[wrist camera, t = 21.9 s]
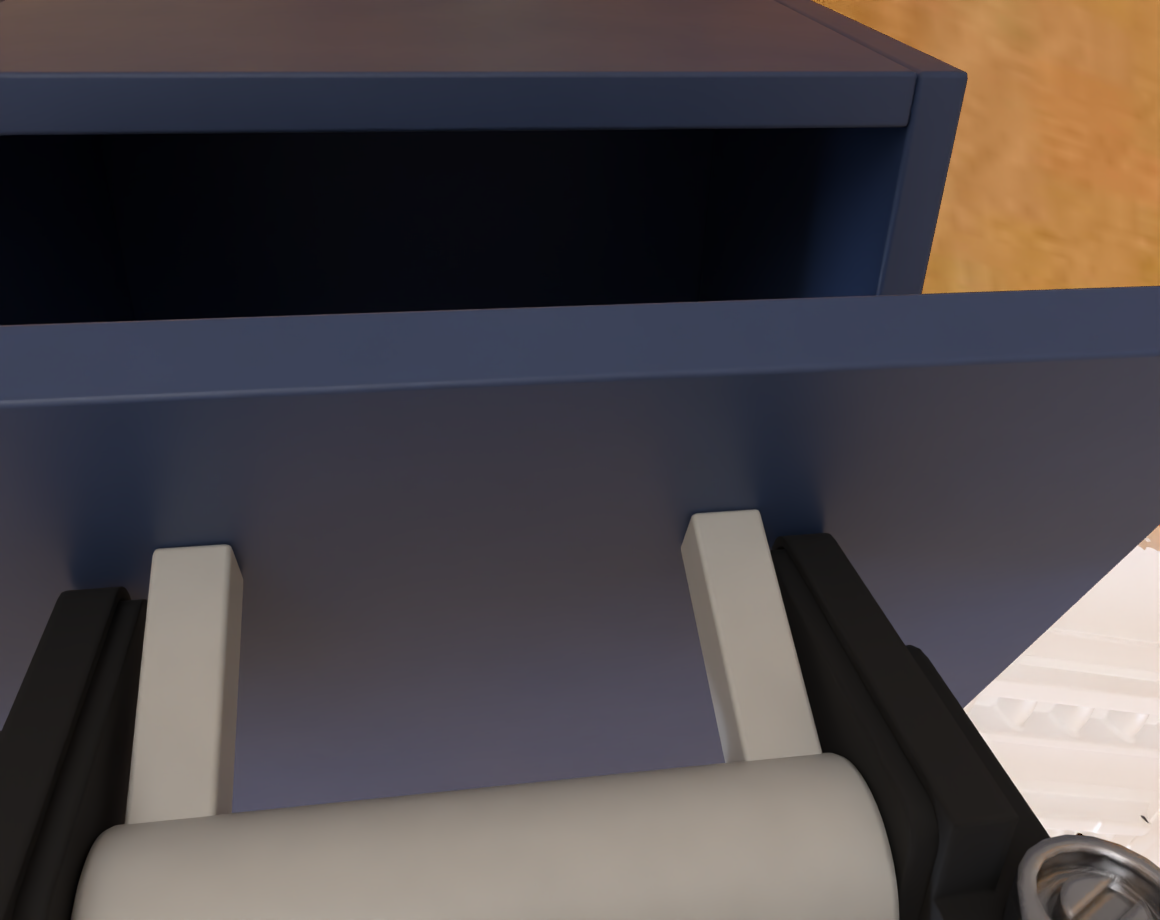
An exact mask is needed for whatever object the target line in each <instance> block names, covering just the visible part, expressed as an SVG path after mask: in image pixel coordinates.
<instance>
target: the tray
mask: <svg viewBox="0 0 1160 920" xmlns="http://www.w3.org/2000/svg"><path fill="white" fill-rule="evenodd" d="M963 710H964V711H965V713H966V714H967V715H968V717H969V718H970V720H971V721H972V723H973V724H974V726H975V727H976V729H977V730H978V732H979V733H980V735H981V736H982V737H983V739H984V740H985V742H986V743H987V745H988V746H989V748H990V749H991V751H992V752H993V754H994V755H995V757H996V758H997V760H998V761H999V762H1000V764H1001V765H1002V767H1003V768H1004V770H1005V771H1006V773H1007V774H1008V776H1009V777H1010V779H1011V780H1012V782H1013V783H1014V785H1015V786H1016V787H1017V789H1018V790H1019V792H1020V793H1021V795H1022V796H1023V798H1024V799H1025V801H1026V802H1027V804H1028V805H1029V807H1030V808H1031V810H1032V811H1033V812H1034V814H1035V815H1036V817H1037V818H1038V820H1039V821H1040V823H1041V824H1042V826H1043V827H1044V829H1045V830H1046V832H1047V833H1048V835H1049V836H1050V837H1056V836H1061V835H1066V834H1068V835H1076V834H1077V833H1081V834H1083V835H1084V836H1093V837H1097V838H1100V839H1104V840H1107V841H1110V842H1114V843H1117V844H1120V845H1122V846H1124V847H1126V848H1128V849H1130V850H1132V851H1134V852H1136V853H1138V854H1140V855H1142V856H1144V857H1146V858H1148V859H1149V860H1150V861H1151V862H1153V863H1154V864H1155V865H1157V866H1158V867H1159V868H1160V526H1158V527H1157V528H1156V529H1155V530H1154V531H1152V532H1151V533H1150V534H1149V535H1148V536H1147V537H1146V538H1145V539H1144V540H1143V541H1142V542H1141V543H1140V544H1139V545H1137V546H1136V547H1135V548H1134V549H1133V550H1132V551H1131V552H1130V553H1129V554H1128V555H1127V556H1126V557H1125V558H1124V559H1123V560H1121V561H1120V562H1119V563H1118V564H1117V565H1116V566H1115V567H1114V568H1113V569H1112V570H1111V571H1110V572H1109V573H1108V574H1107V575H1105V576H1104V577H1103V578H1102V579H1101V580H1100V581H1099V582H1098V583H1097V584H1096V585H1095V586H1094V587H1093V588H1092V589H1090V590H1089V591H1088V592H1087V593H1086V594H1085V595H1084V596H1083V597H1082V598H1081V599H1080V600H1079V601H1078V602H1077V603H1076V604H1074V605H1073V606H1072V607H1071V608H1070V609H1069V610H1068V611H1067V612H1066V613H1065V614H1064V615H1063V616H1062V617H1061V618H1059V619H1058V620H1057V621H1056V622H1055V623H1054V624H1053V625H1052V626H1051V627H1050V628H1049V629H1048V630H1047V631H1046V632H1045V633H1043V634H1042V635H1041V636H1040V637H1039V638H1038V639H1037V640H1036V641H1035V642H1034V643H1033V644H1032V645H1031V646H1030V647H1029V648H1027V649H1026V650H1025V651H1024V652H1023V653H1022V654H1021V655H1020V656H1019V657H1018V658H1017V659H1016V660H1015V661H1014V662H1012V663H1011V664H1010V665H1009V666H1008V667H1007V668H1006V669H1005V670H1004V671H1003V672H1002V673H1001V674H1000V675H999V676H998V677H996V678H995V679H994V680H993V681H992V682H991V683H990V684H989V685H988V686H987V687H986V688H985V689H984V690H983V691H981V692H980V693H979V694H978V695H977V696H976V697H975V698H974V699H973V700H972V701H971V702H970V703H969V704H968V705H967V706H965V707H964V708H963Z"/></svg>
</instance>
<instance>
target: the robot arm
mask: <svg viewBox="0 0 1160 920" xmlns="http://www.w3.org/2000/svg"><path fill="white" fill-rule="evenodd" d="M770 553H771V557H772V561H773V565H774V569H775V572H776V576H777V580H778V584H779V588H780V592H781V595H782V599H783V603H784V607H785V611H786V615H787V618H788V622H789V626H790V630H791V634H792V638H793V641H794V645H795V649H796V653H797V657H798V661H799V664H800V668H801V672H802V676H803V680H804V684H805V687H806V691H807V695H808V699H809V703H810V707H811V710H812V714H813V718H814V722H815V726H816V730H817V733H818V737H819V741H820V745H821V749H822V753H834V754H837V755H840V756H842V757H845V758H846V759H847V760H849V761H850V762H851V763H852V764H853V765H854V766H855V767H856V768H857V770H858V771H859V772H860V774H861V775H862V777H863V778H864V780H865V782H866V783H867V785H868V787H869V789H870V791H871V793H872V795H873V797H874V800H875V802H876V804H877V807H878V809H879V812H880V815H881V817H882V820H883V823H884V827H885V830H886V833H887V837H888V841H889V845H890V848H891V853H892V858H893V862H894V868H895V874H896V880H897V889H898V899H899V920H1160V868H1159V867H1158V866H1157V865H1155V864H1154V863H1153V862H1151V861H1150V860H1149V859H1148V858H1146V857H1144V856H1142V855H1140V854H1138V853H1136V852H1134V851H1132V850H1130V849H1128V848H1126V847H1124V846H1122V845H1120V844H1117V843H1114V842H1110V841H1107V840H1104V839H1100V838H1097V837H1093V836H1083V835H1068V834H1066V835H1061V836H1056V837H1050V836H1049V835H1048V833H1047V832H1046V830H1045V829H1044V827H1043V826H1042V824H1041V823H1040V821H1039V820H1038V818H1037V817H1036V815H1035V814H1034V812H1033V811H1032V810H1031V808H1030V807H1029V805H1028V804H1027V802H1026V801H1025V799H1024V798H1023V796H1022V795H1021V793H1020V792H1019V790H1018V789H1017V787H1016V786H1015V785H1014V783H1013V782H1012V780H1011V779H1010V777H1009V776H1008V774H1007V773H1006V771H1005V770H1004V768H1003V767H1002V765H1001V764H1000V762H999V761H998V760H997V758H996V757H995V755H994V754H993V752H992V751H991V749H990V748H989V746H988V745H987V743H986V742H985V740H984V739H983V737H982V736H981V735H980V733H979V732H978V730H977V729H976V727H975V726H974V724H973V723H972V721H971V720H970V718H969V717H968V715H967V714H966V713H965V711H964V710H963V708H962V707H961V705H960V704H959V702H958V701H957V699H956V698H955V696H954V695H953V693H952V692H951V690H950V689H949V688H948V686H947V685H946V683H945V682H944V680H943V679H942V677H941V676H940V674H939V673H938V671H937V670H936V668H935V667H934V665H933V664H932V663H931V661H930V660H929V658H928V657H927V656H926V655H925V654H924V653H923V652H922V650H921V649H919V648H917V647H915V646H913V645H905V644H904V643H903V641H902V640H901V638H900V636H899V635H898V633H897V632H896V630H895V629H894V627H893V626H892V624H891V623H890V621H889V620H888V618H887V617H886V615H885V614H884V612H883V611H882V609H881V608H880V606H879V605H878V603H877V602H876V600H875V599H874V597H873V596H872V594H871V593H870V591H869V590H868V588H867V587H866V585H865V584H864V582H863V581H862V579H861V578H860V576H859V575H858V573H857V572H856V570H855V569H854V567H853V566H852V564H851V563H850V561H849V559H848V558H847V556H846V555H845V553H844V552H843V550H842V549H841V547H840V546H839V544H838V543H837V541H836V540H835V539H834V538H833V536H832V535H831V534H828V533H815V534H802V535H788V536H779V537H777V538H776V540H775V542H774V544H773V546H772V550H770ZM147 603H148V600H146V599H140V600H131V597H130V594H129V592H128V591H127V589H126V588H125V587H123V586H120V587H107V588H94V589H81V590H68V591H64V592H62V593H61V594H60V596H59V597H58V599H57V601H56V604H55V606H54V608H53V611H52V613H51V615H50V618H49V620H48V623H47V625H46V627H45V630H44V632H43V634H42V637H41V639H40V641H39V644H38V646H37V648H36V651H35V653H34V656H33V658H32V660H31V663H30V665H29V667H28V670H27V672H26V674H25V677H24V679H23V682H22V684H21V686H20V689H19V691H18V693H17V696H16V698H15V700H14V703H13V705H12V707H11V710H10V712H9V715H8V717H7V719H6V722H5V724H4V726H3V729H2V731H0V920H71V914H72V909H73V903H74V899H75V894H76V890H77V886H78V883H79V879H80V876H81V873H82V869H83V866H84V864H85V861H86V858H87V856H88V853H89V851H90V849H91V847H92V845H93V843H94V842H95V840H96V839H97V837H98V836H99V835H100V834H101V833H102V832H104V831H105V830H107V829H109V828H111V827H113V826H115V825H121V824H124V823H125V814H126V804H127V795H128V785H129V776H130V766H131V756H132V747H133V737H134V728H135V718H136V708H137V699H138V689H139V680H140V670H141V661H142V651H143V641H144V632H145V622H146V613H147Z"/></svg>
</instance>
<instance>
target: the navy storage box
mask: <svg viewBox="0 0 1160 920" xmlns="http://www.w3.org/2000/svg"><path fill="white" fill-rule="evenodd" d="M967 79H968V78H967V73H966V72H964V71H962V70H960V69H958V68H956V67H953V66H951V65H949V64H947V63H945V62H943V61H940V60H938V59H936V58H934V57H932V56H930V55H928V54H925V53H923V52H921V51H919V50H917V49H915V48H912V47H910V46H908V45H906V44H904V43H902V42H900V41H897V40H895V39H893V38H891V37H889V36H887V35H885V34H882V33H880V32H878V31H876V30H874V29H872V28H869V27H867V26H865V25H863V24H861V23H859V22H857V21H854V20H852V19H850V18H848V17H846V16H844V15H841V14H839V13H837V12H835V11H833V10H831V9H829V8H826V7H824V6H822V5H820V4H818V3H816V2H814V1H811V0H0V325H28V324H57V323H87V322H116V321H145V320H175V319H204V318H233V317H262V316H292V315H321V314H350V313H380V312H409V311H438V310H467V309H497V308H526V307H555V306H584V305H614V304H643V303H672V302H702V301H731V300H760V299H789V298H819V297H848V296H877V295H907V294H921V293H922V288H923V284H924V279H925V274H926V270H927V265H928V261H929V256H930V251H931V247H932V242H933V237H934V233H935V228H936V223H937V219H938V214H939V209H940V205H941V200H942V195H943V191H944V186H945V181H946V177H947V172H948V167H949V163H950V158H951V153H952V149H953V144H954V139H955V135H956V130H957V126H958V121H959V116H960V112H961V107H962V102H963V98H964V93H965V88H966V84H967Z"/></svg>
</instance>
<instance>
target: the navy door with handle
mask: <svg viewBox="0 0 1160 920" xmlns="http://www.w3.org/2000/svg"><path fill="white" fill-rule="evenodd" d="M1159 525H1160V286H1141V287H1111V288H1082V289H1053V290H1024V291H994V292H965V293H936V294H907V295H877V296H848V297H819V298H789V299H760V300H731V301H702V302H672V303H643V304H614V305H584V306H555V307H526V308H497V309H467V310H438V311H409V312H380V313H350V314H321V315H292V316H262V317H233V318H204V319H175V320H145V321H116V322H87V323H57V324H28V325H0V731H2V729H3V726H4V724H5V722H6V719H7V717H8V715H9V712H10V710H11V707H12V705H13V703H14V700H15V698H16V696H17V693H18V691H19V689H20V686H21V684H22V682H23V679H24V677H25V674H26V672H27V670H28V667H29V665H30V663H31V660H32V658H33V656H34V653H35V651H36V648H37V646H38V644H39V641H40V639H41V637H42V634H43V632H44V630H45V627H46V625H47V623H48V620H49V618H50V615H51V613H52V611H53V608H54V606H55V604H56V601H57V599H58V597H59V596H60V594H61V593H62V592H64V591H68V590H81V589H94V588H107V587H120V586H123V587H125V588H126V589H127V591H128V592H129V594H130V597H131V600H140V599H146V600H148V603H147V613H146V622H145V632H144V641H143V651H142V661H141V670H140V680H139V689H138V699H137V708H136V718H135V728H134V737H133V747H132V756H131V766H130V776H129V785H128V795H127V804H126V814H125V823H124V824H121V825H115V826H113V827H111V828H109V829H107V830H105V831H104V832H102V833H101V834H100V835H99V836H98V837H97V839H96V840H95V842H94V843H93V845H92V847H91V849H90V851H89V853H88V856H87V858H86V861H85V864H84V866H83V869H82V873H81V876H80V879H79V883H78V886H77V890H76V894H75V899H74V903H73V909H72V914H71V920H899V899H898V889H897V880H896V874H895V868H894V862H893V858H892V853H891V848H890V845H889V841H888V837H887V833H886V830H885V827H884V823H883V820H882V817H881V815H880V812H879V809H878V807H877V804H876V802H875V800H874V797H873V795H872V793H871V791H870V789H869V787H868V785H867V783H866V782H865V780H864V778H863V777H862V775H861V774H860V772H859V771H858V770H857V768H856V767H855V766H854V765H853V764H852V763H851V762H850V761H849V760H847V759H846V758H845V757H842V756H840V755H837V754H834V753H822V749H821V745H820V741H819V737H818V733H817V730H816V726H815V722H814V718H813V714H812V710H811V707H810V703H809V699H808V695H807V691H806V687H805V684H804V680H803V676H802V672H801V668H800V664H799V661H798V657H797V653H796V649H795V645H794V641H793V638H792V634H791V630H790V626H789V622H788V618H787V615H786V611H785V607H784V603H783V599H782V595H781V592H780V588H779V584H778V580H777V576H776V572H775V569H774V565H773V561H772V557H771V553H770V550H772V546H773V544H774V542H775V540H776V538H777V537H779V536H788V535H802V534H815V533H828V534H831V535H832V536H833V538H834V539H835V540H836V541H837V543H838V544H839V546H840V547H841V549H842V550H843V552H844V553H845V555H846V556H847V558H848V559H849V561H850V563H851V564H852V566H853V567H854V569H855V570H856V572H857V573H858V575H859V576H860V578H861V579H862V581H863V582H864V584H865V585H866V587H867V588H868V590H869V591H870V593H871V594H872V596H873V597H874V599H875V600H876V602H877V603H878V605H879V606H880V608H881V609H882V611H883V612H884V614H885V615H886V617H887V618H888V620H889V621H890V623H891V624H892V626H893V627H894V629H895V630H896V632H897V633H898V635H899V636H900V638H901V640H902V641H903V643H904V644H905V645H913V646H915V647H917V648H919V649H921V650H922V652H923V653H924V654H925V655H926V656H927V657H928V658H929V660H930V661H931V663H932V664H933V665H934V667H935V668H936V670H937V671H938V673H939V674H940V676H941V677H942V679H943V680H944V682H945V683H946V685H947V686H948V688H949V689H950V690H951V692H952V693H953V695H954V696H955V698H956V699H957V701H958V702H959V704H960V705H961V707H962V708H964V707H965V706H967V705H968V704H969V703H970V702H971V701H972V700H973V699H974V698H975V697H976V696H977V695H978V694H979V693H980V692H981V691H983V690H984V689H985V688H986V687H987V686H988V685H989V684H990V683H991V682H992V681H993V680H994V679H995V678H996V677H998V676H999V675H1000V674H1001V673H1002V672H1003V671H1004V670H1005V669H1006V668H1007V667H1008V666H1009V665H1010V664H1011V663H1012V662H1014V661H1015V660H1016V659H1017V658H1018V657H1019V656H1020V655H1021V654H1022V653H1023V652H1024V651H1025V650H1026V649H1027V648H1029V647H1030V646H1031V645H1032V644H1033V643H1034V642H1035V641H1036V640H1037V639H1038V638H1039V637H1040V636H1041V635H1042V634H1043V633H1045V632H1046V631H1047V630H1048V629H1049V628H1050V627H1051V626H1052V625H1053V624H1054V623H1055V622H1056V621H1057V620H1058V619H1059V618H1061V617H1062V616H1063V615H1064V614H1065V613H1066V612H1067V611H1068V610H1069V609H1070V608H1071V607H1072V606H1073V605H1074V604H1076V603H1077V602H1078V601H1079V600H1080V599H1081V598H1082V597H1083V596H1084V595H1085V594H1086V593H1087V592H1088V591H1089V590H1090V589H1092V588H1093V587H1094V586H1095V585H1096V584H1097V583H1098V582H1099V581H1100V580H1101V579H1102V578H1103V577H1104V576H1105V575H1107V574H1108V573H1109V572H1110V571H1111V570H1112V569H1113V568H1114V567H1115V566H1116V565H1117V564H1118V563H1119V562H1120V561H1121V560H1123V559H1124V558H1125V557H1126V556H1127V555H1128V554H1129V553H1130V552H1131V551H1132V550H1133V549H1134V548H1135V547H1136V546H1137V545H1139V544H1140V543H1141V542H1142V541H1143V540H1144V539H1145V538H1146V537H1147V536H1148V535H1149V534H1150V533H1151V532H1152V531H1154V530H1155V529H1156V528H1157V527H1158V526H1159Z"/></svg>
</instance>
